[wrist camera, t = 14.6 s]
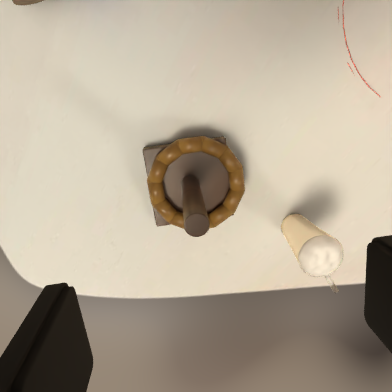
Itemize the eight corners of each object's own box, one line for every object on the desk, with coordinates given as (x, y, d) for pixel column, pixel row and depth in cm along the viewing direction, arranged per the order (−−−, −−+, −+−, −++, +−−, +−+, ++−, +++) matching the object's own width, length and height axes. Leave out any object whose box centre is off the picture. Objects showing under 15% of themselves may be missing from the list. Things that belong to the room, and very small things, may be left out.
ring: (157, 232, 39) (157, 238, 37) (141, 143, 36) (139, 146, 34) (246, 219, 39) (249, 224, 37) (237, 129, 36) (240, 131, 34)
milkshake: (282, 252, 42) (314, 300, 33) (271, 215, 41) (300, 254, 31) (317, 240, 42) (359, 284, 33) (306, 202, 40) (347, 237, 31)
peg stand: (157, 221, 40) (149, 284, 27) (143, 147, 37) (127, 177, 24) (231, 210, 40) (258, 267, 27) (223, 135, 37) (249, 160, 25)
